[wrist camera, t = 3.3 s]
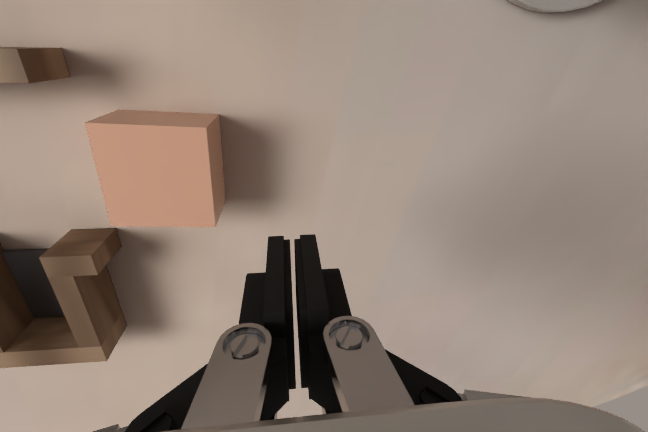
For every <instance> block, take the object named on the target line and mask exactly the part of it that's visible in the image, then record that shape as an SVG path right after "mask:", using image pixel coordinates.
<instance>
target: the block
mask: <svg viewBox="0 0 648 432" xmlns="http://www.w3.org/2000/svg"><path fill="white" fill-rule="evenodd" d="M85 125H86V129H87V133H88V137H89V141H90V145H91V149H92V153H93V157H94V161H95V165H96V169H97V173H98V177H99V181H100V185H101V189H102V193H103V197H104V201H105V205H106V209H107V213H108V217H109V221H110V225H111V226H169V227H216V224H217V222H218V219H219V217H220V214H221V212H222V209H223V206H224V204H225V201H226V199H225V186H224V173H223V159H222V146H221V133H220V119H219V114H200V113H178V112H156V111H134V110H116V111H114V112H111V113H109V114H106V115H103V116H101V117H98V118H96V119H93V120H90V121H88V122H85Z"/></svg>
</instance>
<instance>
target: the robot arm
mask: <svg viewBox="0 0 648 432" xmlns="http://www.w3.org/2000/svg"><path fill="white" fill-rule="evenodd" d="M508 1H509V2H511V3H512V4H515V5H517V6H519V7H522V8H524V9H526V10H530V11H537V12H543V13H552V12H566V11H571V10H576V9H581V8H586V7H588V6H591V5H593V4H596V3H598V2H600V1H603V0H508ZM294 242H295V273H296V304H297V321H298V338H299V355H300V371H301V387H302V388H307V387H308V390H309V399H312V400H314V401H315V402H316V403H318V404H319V405H320V406H322V412H323V414H322V415H313V416H303V417H293V418H283V419H277V412H278V411H279V410H280V409H281V407H282V406H283V405H284V404H285V403H286V402H287V401H289V389H296V381H295V355H294V329H293V304H292V281H291V259H290V240H284V236H271V237H268V250H267V264H266V273H249V274H247V276H246V281H245V288H244V294H243V300H242V307H241V313H240V320H239V325H235V326H233V327H231V328H230V329H228V330H226V331H225V332H224V333H223V334H222V335H221V336H220V338H219V340H218V341H217V344H216V346H215V348H214V351H213V353H212V356H211V358H210V360H209V363H208V364H206V365H205V366H204V367H202V368H201V369H200V370H198V371H197V372H196V373H194V374H193V375H192V376H190V377H189V378H188V379H186V380H185V381H184V382H182V383H181V384H180V385H178V386H177V387H176V388H174V389H173V390H172V391H170V392H169V393H168V394H166V395H165V396H164V397H162V398H161V399H159V400H158V401H157V402H155V403H154V404H153V405H151V406H150V407H149V408H147V409H146V410H145V411H143V412H142V413H141V414H140V415H138V416H137V417H136V418H135V419H134V420H133V421H132V422H131V423H130V424H129V426H127V427H123V428H120V427H119V424H117V425H113V426H110V427H107V428H103V429H100V430H97V431H93V432H645V431H643V430H642V429H641V428H639V427H638V426H636V425H634V424H632V423H631V422H629V421H627V420H625V419H623V418H621V417H618V416H616V415H614V414H611V413H608V412H606V411H603V410H600V409H597V408H593V407H589V406H585V405H581V404H577V403H573V402H567V401H560V400H553V399H545V398H530V397H522V396H513V395H505V394H497V393H488V392H480V391H472V390H464V393H463V394H459V393H456V391H455V390H454V389H452V388H451V387H449V386H448V385H447V384H445V383H443V382H442V381H440V380H438V379H436V378H434V377H433V376H431V375H429V374H427V373H426V372H424V371H422V370H420V369H419V368H417V367H415V366H413V365H411V364H410V363H408V362H406V361H404V360H403V359H401V358H399V357H397V356H396V355H394V354H392V353H390V352H389V351H387V350H385V349H384V347H383V345H382V344H381V342H380V340H379V338H378V336H377V334H376V333H375V331H374V329H373V328H372V326H371V325H370V324H369V323H368V322H366V321H365V320H363V319H361V318H358V317H354V316H352V315H351V312H350V308H349V304H348V300H347V297H346V293H345V289H344V285H343V282H342V278H341V274H340V271H339V269H321V263H320V258H319V253H318V247H317V242H316V236H315V235H300V239H294Z"/></svg>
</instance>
